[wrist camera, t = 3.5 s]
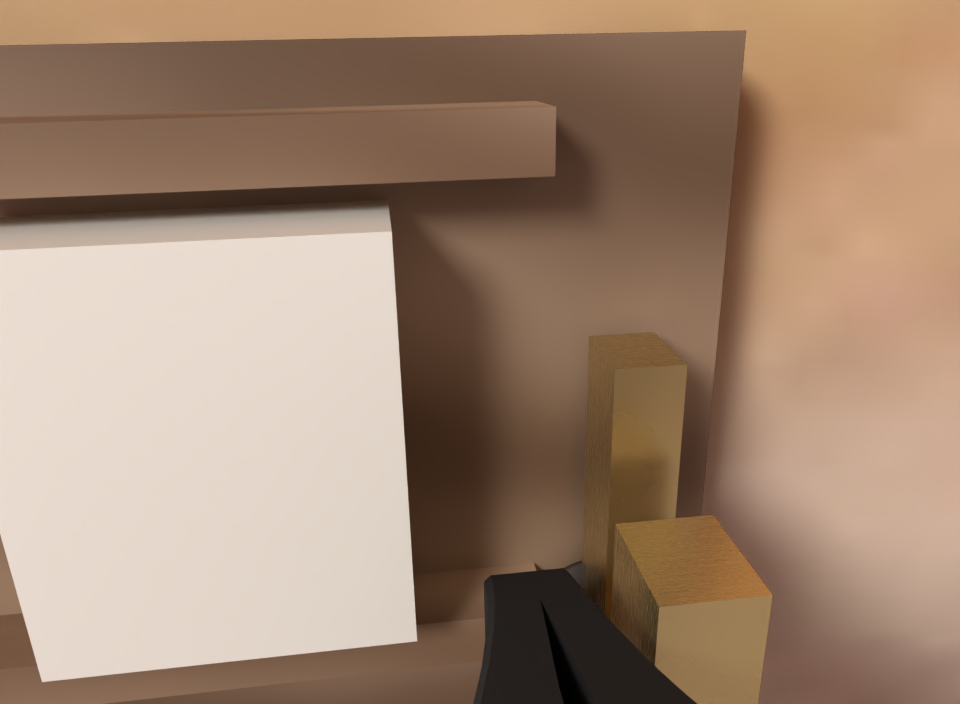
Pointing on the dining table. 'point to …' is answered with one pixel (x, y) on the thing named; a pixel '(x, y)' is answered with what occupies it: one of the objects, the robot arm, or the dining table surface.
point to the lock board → (422, 275)
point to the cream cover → (203, 435)
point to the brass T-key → (662, 532)
